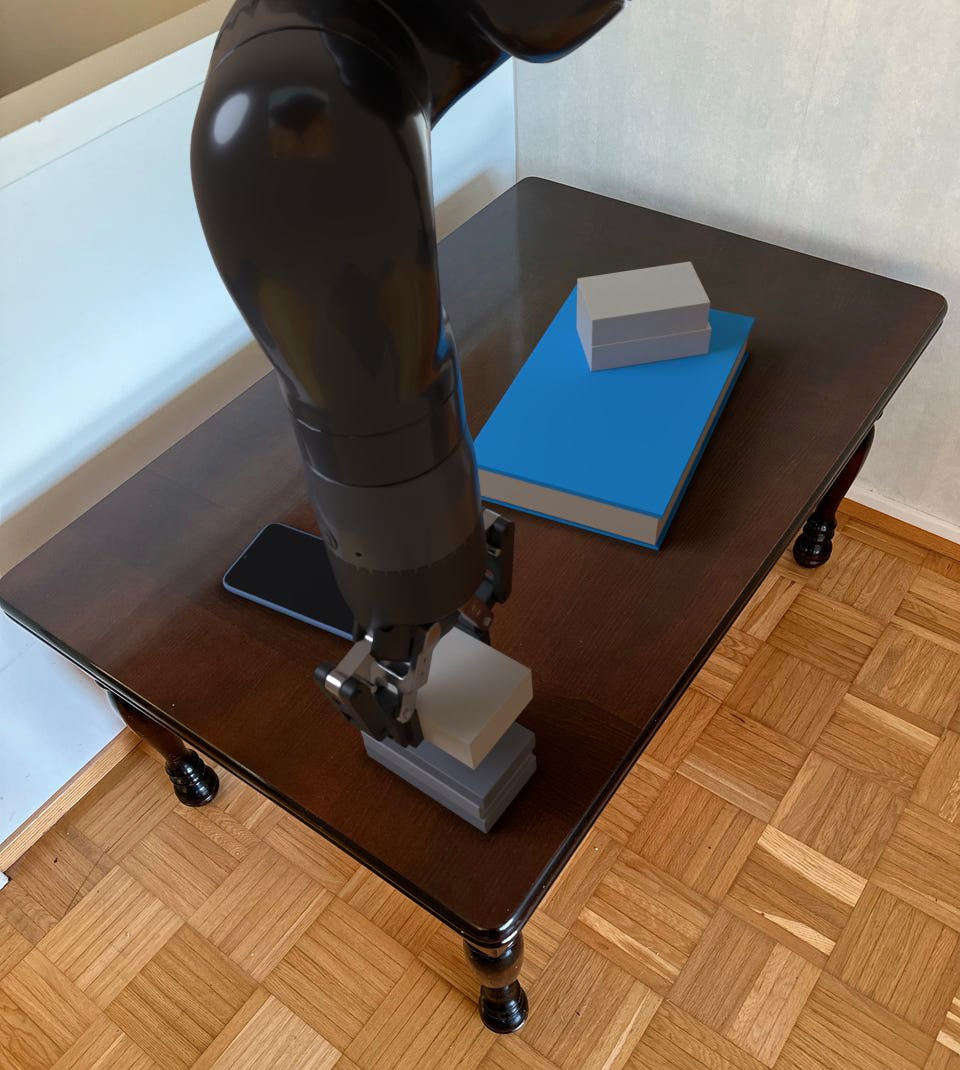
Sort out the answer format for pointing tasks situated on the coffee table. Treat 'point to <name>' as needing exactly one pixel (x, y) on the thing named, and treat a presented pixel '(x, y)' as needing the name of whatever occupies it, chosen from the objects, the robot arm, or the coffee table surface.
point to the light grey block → (470, 696)
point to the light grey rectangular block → (642, 316)
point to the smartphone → (292, 578)
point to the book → (607, 431)
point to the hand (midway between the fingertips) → (441, 697)
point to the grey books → (464, 773)
